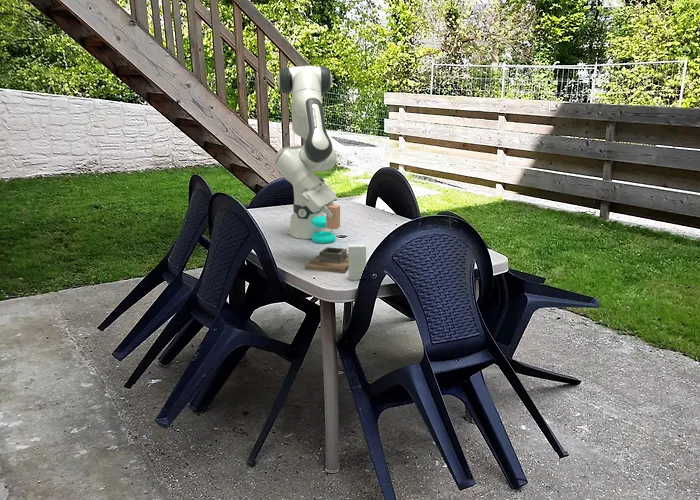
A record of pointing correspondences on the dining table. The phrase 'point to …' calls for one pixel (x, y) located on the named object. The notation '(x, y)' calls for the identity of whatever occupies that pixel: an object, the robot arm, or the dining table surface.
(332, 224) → the terracotta peg
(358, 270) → the skincare box
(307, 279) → the dining table surface
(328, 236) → the donuts
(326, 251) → the sleeve stand
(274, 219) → the dining table surface
